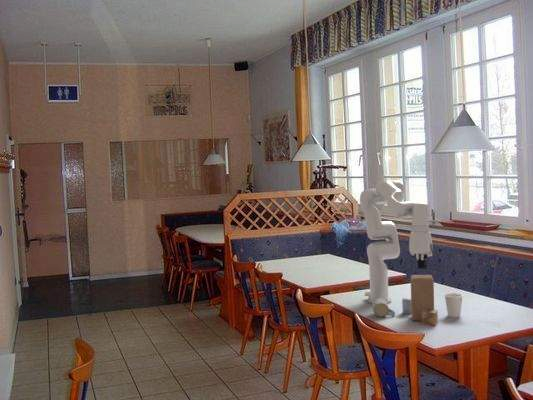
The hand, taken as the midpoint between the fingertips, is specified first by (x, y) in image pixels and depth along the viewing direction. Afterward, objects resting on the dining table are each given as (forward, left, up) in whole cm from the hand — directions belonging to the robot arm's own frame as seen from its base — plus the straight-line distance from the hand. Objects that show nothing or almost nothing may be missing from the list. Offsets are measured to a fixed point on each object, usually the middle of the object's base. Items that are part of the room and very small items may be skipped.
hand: (421, 268), depth 280 cm
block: (0, 0, -24) cm, 24 cm away
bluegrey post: (-11, +5, -24) cm, 27 cm away
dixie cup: (+9, +13, -24) cm, 29 cm away
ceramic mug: (-18, -5, -24) cm, 31 cm away
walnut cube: (+7, -6, -24) cm, 26 cm away
